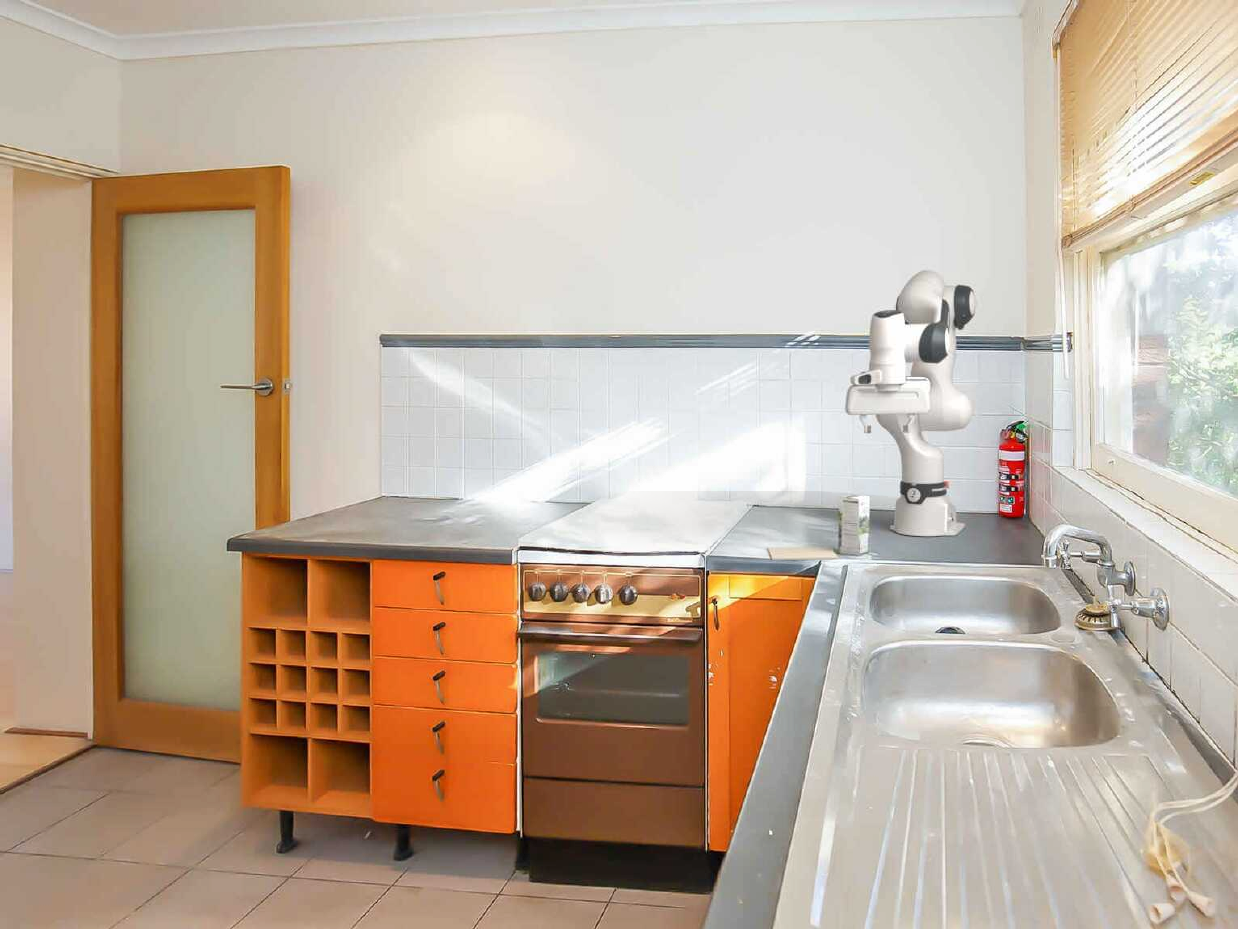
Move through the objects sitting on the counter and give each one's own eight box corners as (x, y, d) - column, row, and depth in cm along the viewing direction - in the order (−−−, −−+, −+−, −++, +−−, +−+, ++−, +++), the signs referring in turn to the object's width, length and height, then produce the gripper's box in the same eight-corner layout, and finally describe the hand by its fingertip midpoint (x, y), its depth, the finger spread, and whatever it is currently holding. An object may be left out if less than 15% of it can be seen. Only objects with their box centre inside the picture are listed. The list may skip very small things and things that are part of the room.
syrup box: (848, 550, 270) (848, 493, 269) (869, 552, 267) (870, 495, 265) (837, 554, 266) (837, 496, 264) (859, 556, 262) (859, 498, 261)
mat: (830, 548, 274) (830, 546, 273) (838, 559, 260) (838, 557, 260) (767, 548, 274) (767, 547, 274) (772, 559, 261) (772, 558, 261)
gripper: (927, 375, 263) (927, 431, 265) (844, 377, 265) (844, 432, 267) (933, 376, 257) (932, 433, 259) (847, 377, 259) (847, 434, 260)
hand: (887, 432), depth 263 cm, fingers open, 8 cm apart
